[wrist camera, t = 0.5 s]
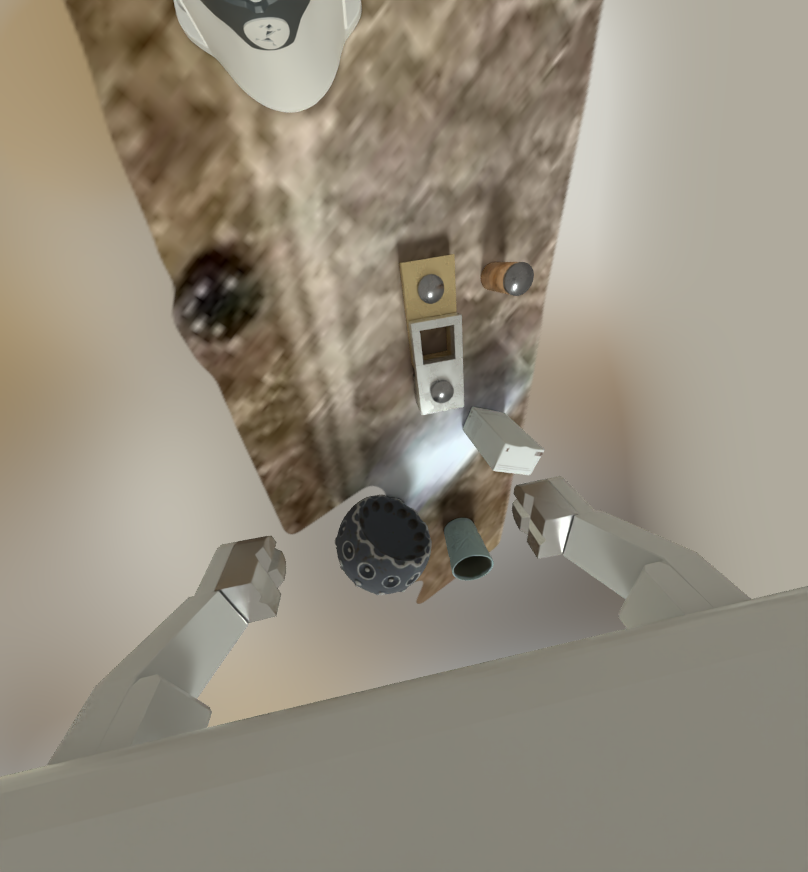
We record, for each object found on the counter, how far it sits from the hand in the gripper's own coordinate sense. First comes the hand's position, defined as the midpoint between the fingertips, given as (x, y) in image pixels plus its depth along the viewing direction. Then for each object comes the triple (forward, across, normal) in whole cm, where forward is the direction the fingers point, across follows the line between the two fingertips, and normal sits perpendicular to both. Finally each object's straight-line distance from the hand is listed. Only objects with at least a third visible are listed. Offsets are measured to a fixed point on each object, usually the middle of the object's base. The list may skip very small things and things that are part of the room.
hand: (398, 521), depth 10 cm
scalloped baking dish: (+44, +5, +44) cm, 62 cm away
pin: (+44, -22, -2) cm, 49 cm away
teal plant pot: (+44, -14, +58) cm, 74 cm away
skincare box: (+44, -21, +25) cm, 55 cm away
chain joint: (+44, -11, +6) cm, 46 cm away
